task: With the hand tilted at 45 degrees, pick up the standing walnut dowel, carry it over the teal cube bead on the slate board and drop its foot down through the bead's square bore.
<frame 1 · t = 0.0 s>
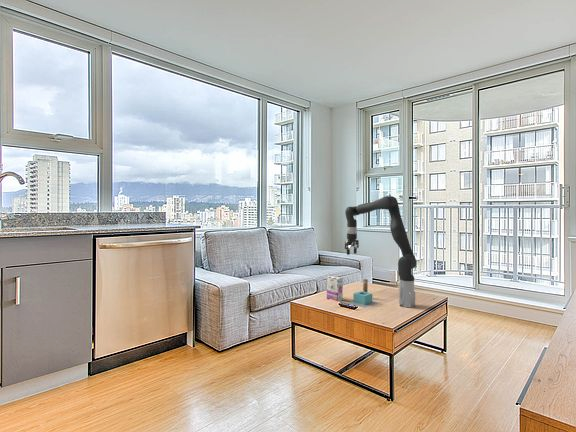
hand: (351, 254, 255), 29 cm above the table, tool pointing down, fingers open, 8 cm apart
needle: (365, 299, 237), on the table
board: (363, 304, 225), on the table
bead: (362, 302, 227), resting on board
candy bar box: (334, 300, 235), on the table
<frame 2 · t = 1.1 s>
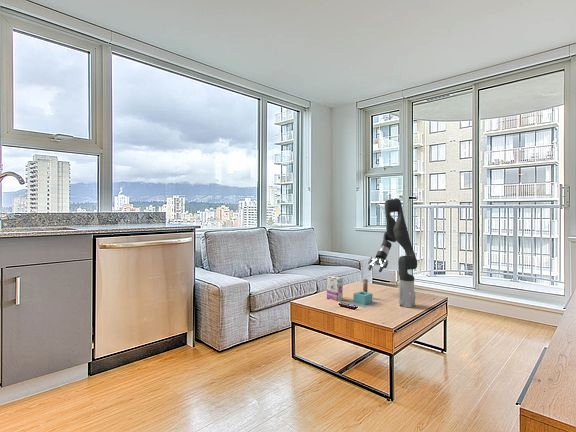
hand: (374, 270, 244), 19 cm above the table, tool tilted 45°, fingers open, 8 cm apart
nothing on the table moved.
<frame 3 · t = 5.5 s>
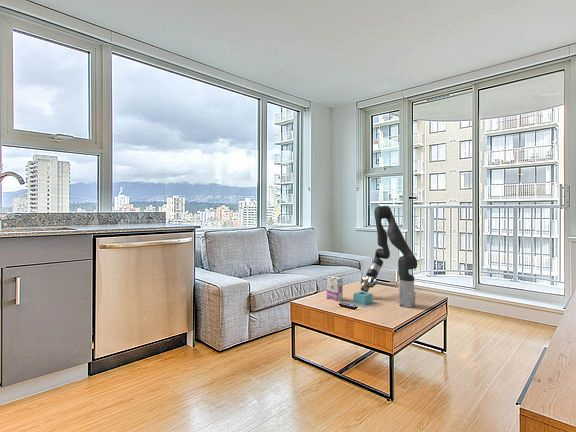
hand: (363, 290, 236), 6 cm above the table, tool tilted 45°, fingers closed on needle, 3 cm apart
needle: (365, 299, 237), on the table, touching gripper
everything else where it was.
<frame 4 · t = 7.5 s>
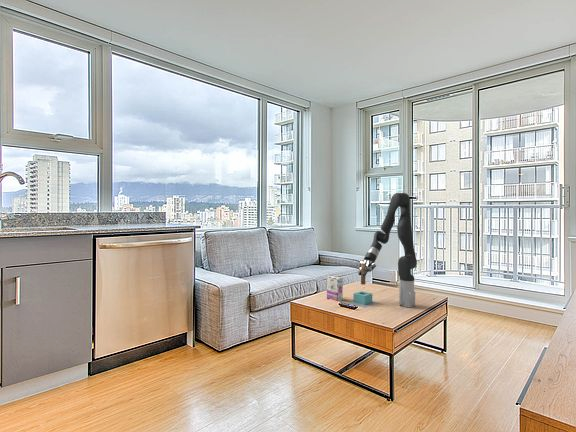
hand: (361, 274, 225), 20 cm above the table, tool tilted 45°, fingers closed on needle, 3 cm apart
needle: (363, 284, 227), point 13 cm above the table, touching gripper
everything else where it was.
when the fingers open (11 cm above the table, at t = 9.8 s): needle drops 4 cm, resting on board.
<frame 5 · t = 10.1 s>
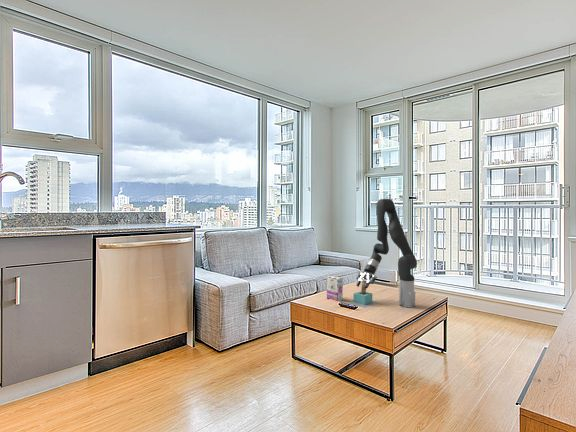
hand: (361, 286, 225), 12 cm above the table, tool tilted 45°, fingers open, 6 cm apart
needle: (362, 301, 227), point 1 cm above the table, tilted 6°, touching board
everything else where it was.
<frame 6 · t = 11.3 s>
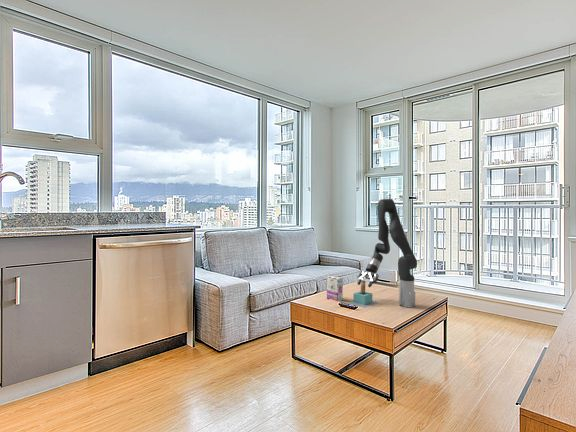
hand: (363, 285, 227), 12 cm above the table, tool tilted 45°, fingers open, 8 cm apart
nothing on the table moved.
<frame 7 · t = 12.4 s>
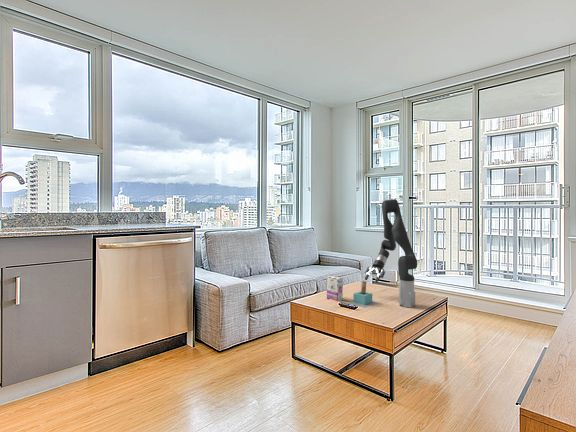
hand: (370, 280, 236), 13 cm above the table, tool tilted 45°, fingers open, 8 cm apart
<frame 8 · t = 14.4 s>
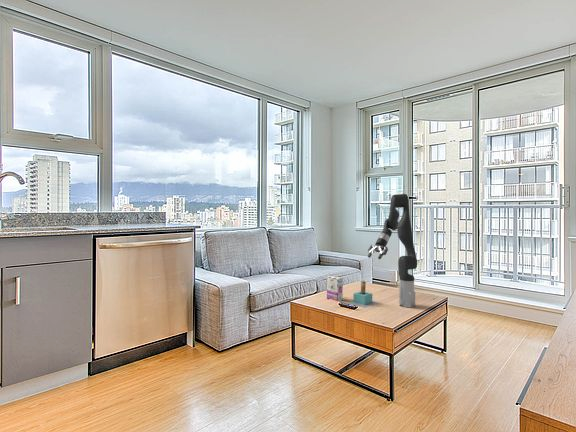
hand: (373, 257, 241), 29 cm above the table, tool tilted 45°, fingers open, 8 cm apart
at the end: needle 0.0 cm off-centre on the bead, point 0.0 cm above the bead's base; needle tilted 1°; the gripper is holding nothing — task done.
